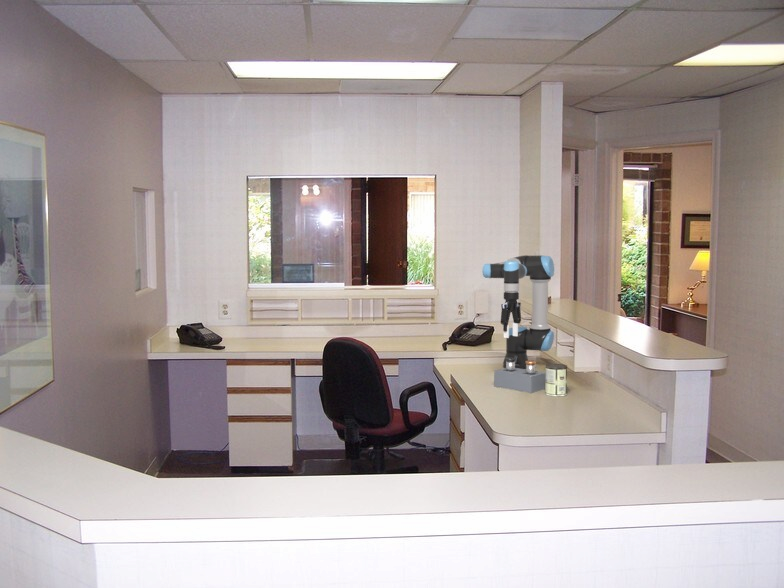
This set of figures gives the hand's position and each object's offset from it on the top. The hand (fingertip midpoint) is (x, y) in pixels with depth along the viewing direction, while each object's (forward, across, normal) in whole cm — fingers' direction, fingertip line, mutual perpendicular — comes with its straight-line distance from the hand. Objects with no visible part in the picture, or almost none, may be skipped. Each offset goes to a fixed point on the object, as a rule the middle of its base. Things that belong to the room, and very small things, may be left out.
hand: (510, 336), depth 361 cm
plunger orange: (+20, 0, +12) cm, 23 cm away
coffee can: (+25, +1, +27) cm, 37 cm away
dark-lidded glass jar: (+20, 0, 0) cm, 20 cm away
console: (+25, 0, +6) cm, 26 cm away
